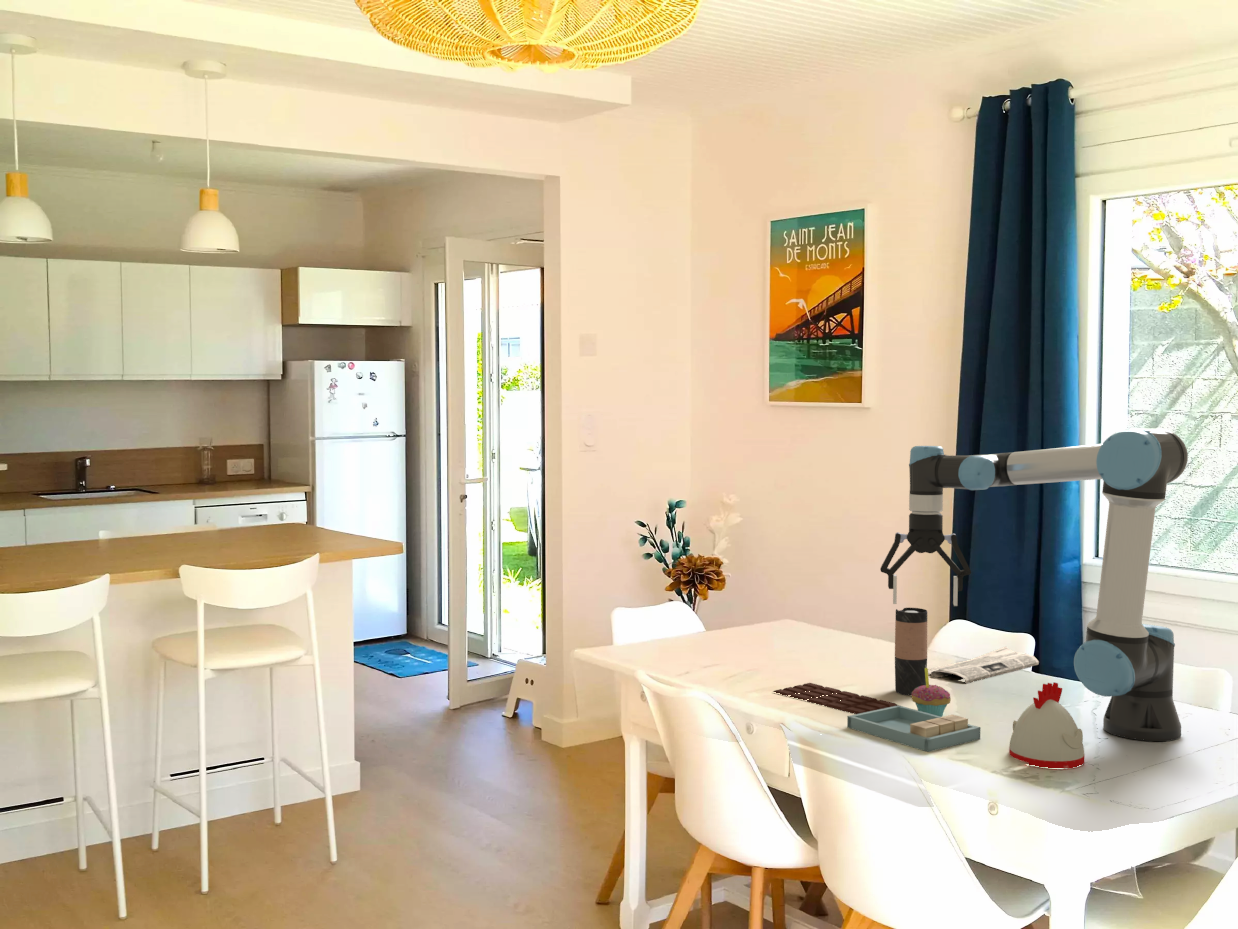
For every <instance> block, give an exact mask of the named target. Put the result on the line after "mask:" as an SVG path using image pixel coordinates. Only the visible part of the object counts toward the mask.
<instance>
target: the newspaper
mask: <svg viewBox="0 0 1238 929" xmlns="http://www.w3.org/2000/svg"><path fill="white" fill-rule="evenodd" d="M1039 663H1040V661H1039V660H1038V659H1037V658H1036V657H1035V655H1031V654H1029V653H1024V652H1018V651H1014V650H1012V649H1010V648H1008V647H1007V646H1003V647H1000V648H999V649H995V650H993V651H990V652H987V653H985V654H981V655H978V656H976V657H974V658H970V659H968V660H964V661H959V662H955V663H949V664H945V665H939V666H936V667H931V668H928V671H931V672H930V677H933V678H937V677H941V678H945V677H949V676H951V675H952V674H953V675H955V676H957V677H961V678H964V679H965V683H966V684H969V683H968V682H970V683H974V682H978V681H981V679H982V680H984V679H985V678H986V679H988V678H989V679H990V678H993V677H997V676H1000V675H1004V674H1008V673H1012V672H1015V671H1016V672H1017V671H1019V670H1023V669H1024V670H1025V669H1027V668H1031V667H1034V666H1038V665H1039ZM948 675H949V676H948ZM934 676H935V677H934ZM944 676H945V677H944ZM977 680H978V681H977ZM973 681H974V682H973ZM965 683H964V684H965Z"/></svg>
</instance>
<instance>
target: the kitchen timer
mask: <svg viewBox="0 0 1238 929" xmlns="http://www.w3.org/2000/svg"><path fill="white" fill-rule="evenodd" d="M1041 689H1042V690H1040V689H1039V690H1037V697H1032V700H1033V702H1032V703H1031V704H1029V706H1028V707H1027V708H1025V710H1024V711H1022V713H1021V714H1020V716H1019V717H1018V719H1017V720H1013V722H1012V731H1013V732H1012V733H1011V737H1010V739H1009V746H1008V748H1009V749H1008V751H1009V752H1008V753H1009V756H1011V757H1012V758H1013V759H1016V760H1018V761H1020V762H1023V763H1024V762H1025V763H1026V764H1029V765H1035V766H1039V767H1048V768H1073V767H1077V766H1079V765H1082V764H1083V763H1084V764H1085V755H1086V754H1085V748H1084V747H1085V746H1084V743H1083V742H1084V741H1083V739H1084V738H1083V730H1082V729H1081V728H1079V727H1078V726H1077V723H1076V721H1075V720H1074V718H1073V717H1072V715H1071V713H1070V712H1069V711H1068V710H1067V709H1066V708H1065V707H1064V706H1063V705H1062V704H1061V703H1059V702H1060V700H1061V696H1062V693H1063V688H1062V687H1059V683H1058V682H1053V683H1051V682H1047V683H1042V688H1041ZM1084 764H1083V765H1084ZM1073 769H1074V768H1073Z"/></svg>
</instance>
